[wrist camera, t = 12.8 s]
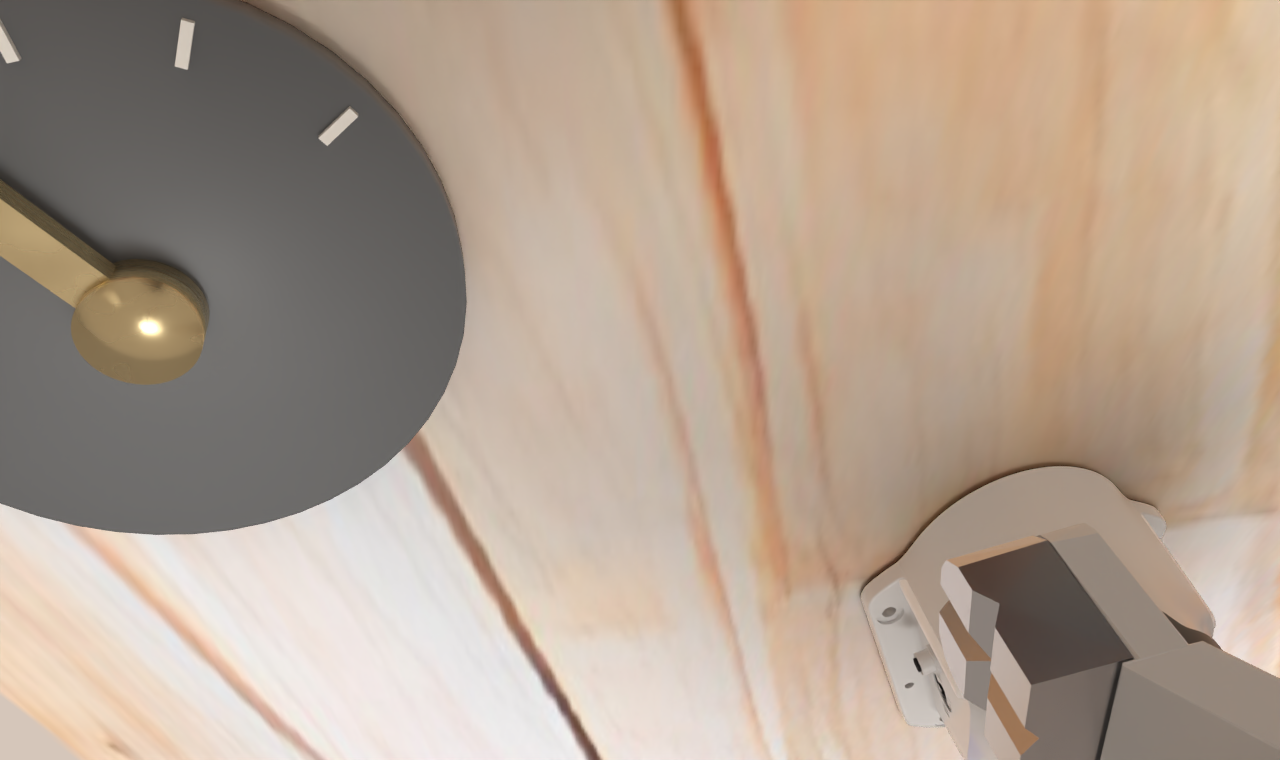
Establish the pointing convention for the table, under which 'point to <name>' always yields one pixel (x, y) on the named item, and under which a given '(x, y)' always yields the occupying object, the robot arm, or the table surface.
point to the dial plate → (218, 265)
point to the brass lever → (109, 297)
